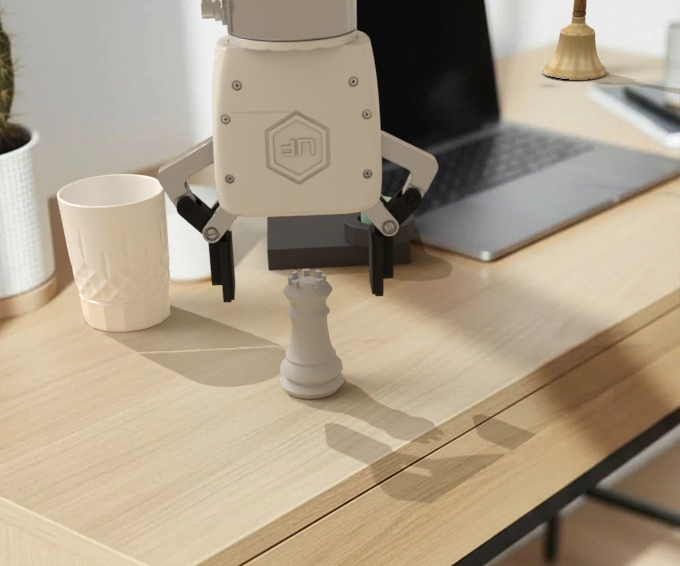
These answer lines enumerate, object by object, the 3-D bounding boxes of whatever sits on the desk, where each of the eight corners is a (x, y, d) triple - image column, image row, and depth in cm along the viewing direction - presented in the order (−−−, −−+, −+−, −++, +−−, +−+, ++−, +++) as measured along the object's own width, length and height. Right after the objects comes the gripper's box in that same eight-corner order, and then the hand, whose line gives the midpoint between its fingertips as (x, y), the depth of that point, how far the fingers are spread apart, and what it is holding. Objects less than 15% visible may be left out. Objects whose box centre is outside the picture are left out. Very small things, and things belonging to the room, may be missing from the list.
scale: (404, 224, 110) (404, 186, 108) (417, 268, 100) (417, 227, 99) (268, 231, 109) (265, 193, 108) (268, 275, 100) (265, 235, 98)
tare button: (394, 215, 102) (394, 195, 102) (398, 226, 100) (398, 206, 99) (359, 216, 102) (359, 196, 101) (362, 228, 100) (361, 208, 99)
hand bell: (613, 68, 159) (624, -65, 150) (597, 82, 152) (608, -56, 144) (552, 64, 162) (560, -66, 153) (534, 78, 155) (541, -57, 147)
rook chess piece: (319, 366, 85) (313, 258, 81) (358, 387, 82) (355, 276, 78) (267, 385, 83) (259, 275, 79) (305, 407, 80) (299, 294, 76)
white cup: (150, 341, 90) (134, 210, 84) (58, 330, 92) (36, 202, 87) (195, 301, 96) (182, 177, 91) (107, 292, 98) (89, 170, 93)
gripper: (135, 29, 66) (166, 319, 75) (448, 19, 67) (441, 308, 76) (147, 6, 72) (174, 276, 81) (433, -3, 73) (428, 266, 82)
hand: (303, 291), depth 79 cm, fingers open, 9 cm apart
